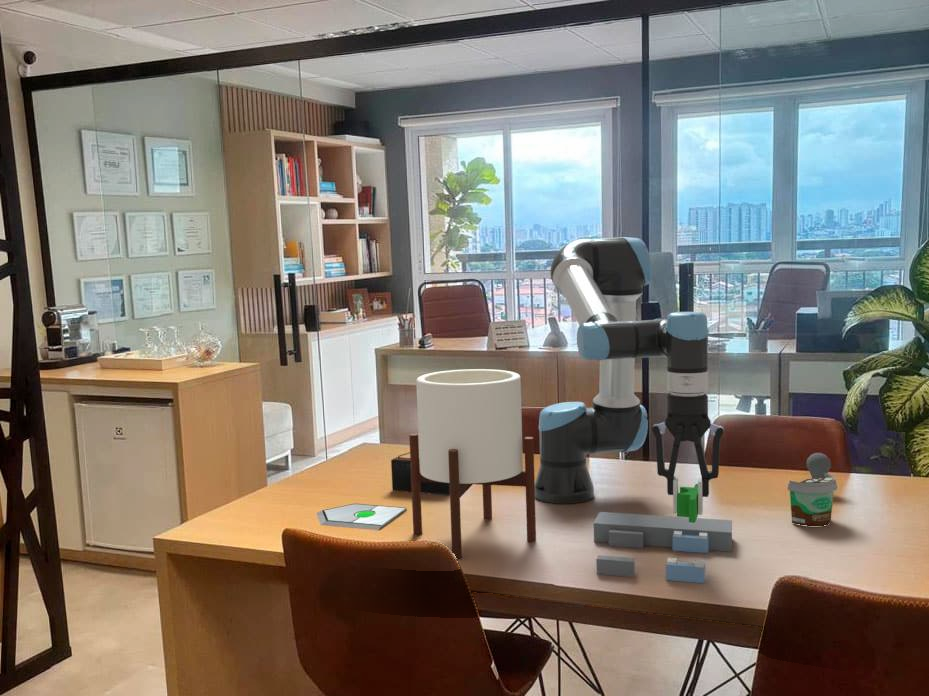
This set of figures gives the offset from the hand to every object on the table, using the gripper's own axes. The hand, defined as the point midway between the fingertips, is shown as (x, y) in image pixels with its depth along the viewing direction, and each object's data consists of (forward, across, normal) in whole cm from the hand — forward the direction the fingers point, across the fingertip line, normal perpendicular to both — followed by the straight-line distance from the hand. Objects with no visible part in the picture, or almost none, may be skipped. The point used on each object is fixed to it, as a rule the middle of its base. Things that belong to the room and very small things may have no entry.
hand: (688, 511), depth 163 cm
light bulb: (+11, +28, +56) cm, 64 cm away
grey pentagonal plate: (+11, -79, +14) cm, 81 cm away
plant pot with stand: (+11, -46, +6) cm, 48 cm away
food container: (+11, +26, +31) cm, 42 cm away
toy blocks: (+11, -6, +4) cm, 13 cm away
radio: (+11, -69, +37) cm, 79 cm away
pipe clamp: (+1, 0, +1) cm, 1 cm away
